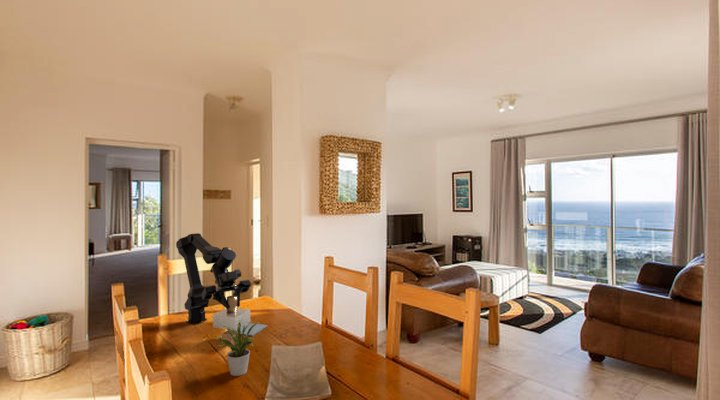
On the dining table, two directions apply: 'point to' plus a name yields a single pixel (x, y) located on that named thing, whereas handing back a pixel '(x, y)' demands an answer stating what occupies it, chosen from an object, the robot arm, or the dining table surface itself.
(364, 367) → the dining table surface
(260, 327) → the mat
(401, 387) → the dining table surface
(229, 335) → the visible block
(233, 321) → the cover
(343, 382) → the dining table surface
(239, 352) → the house plant
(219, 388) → the dining table surface
